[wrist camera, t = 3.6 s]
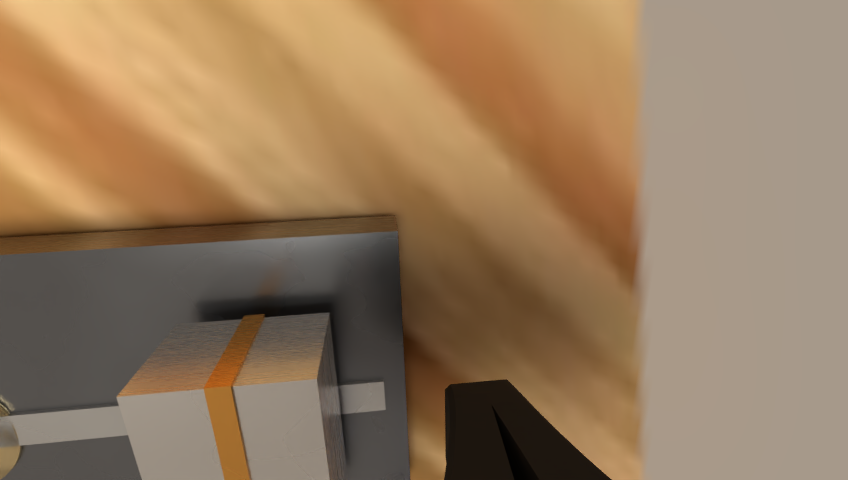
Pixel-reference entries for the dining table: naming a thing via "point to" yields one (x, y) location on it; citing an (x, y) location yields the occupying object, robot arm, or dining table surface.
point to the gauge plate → (188, 303)
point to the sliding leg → (238, 402)
